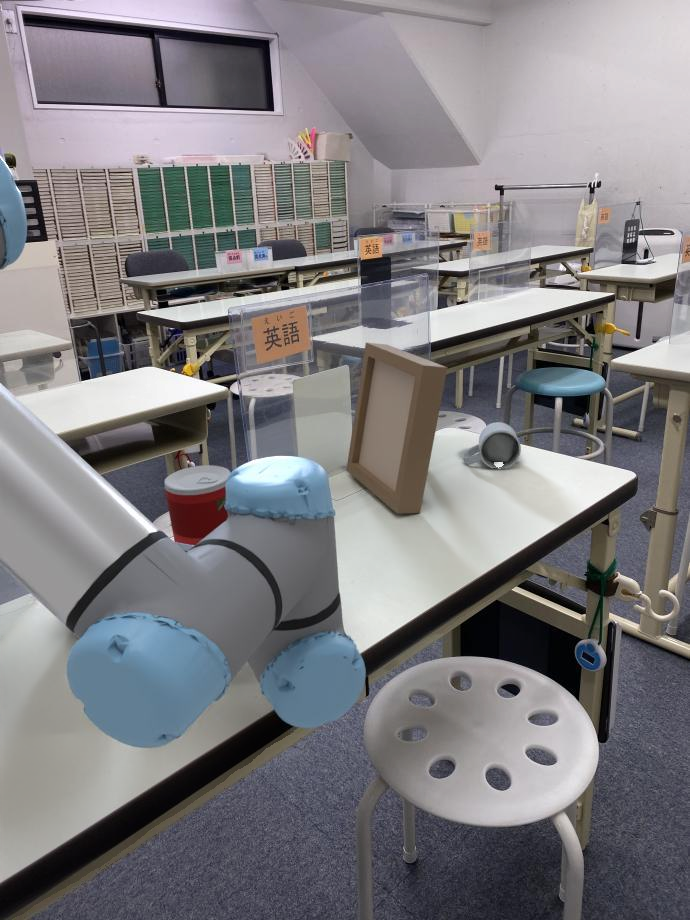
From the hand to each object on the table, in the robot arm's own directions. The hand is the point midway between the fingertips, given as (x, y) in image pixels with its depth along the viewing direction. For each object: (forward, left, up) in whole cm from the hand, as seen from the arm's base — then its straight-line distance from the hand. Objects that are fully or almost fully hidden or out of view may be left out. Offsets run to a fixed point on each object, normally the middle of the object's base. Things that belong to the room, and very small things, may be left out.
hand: (204, 507), depth 81 cm
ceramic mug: (+43, +51, -18) cm, 69 cm away
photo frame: (+26, +42, -18) cm, 52 cm away
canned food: (-1, +2, -8) cm, 8 cm away
